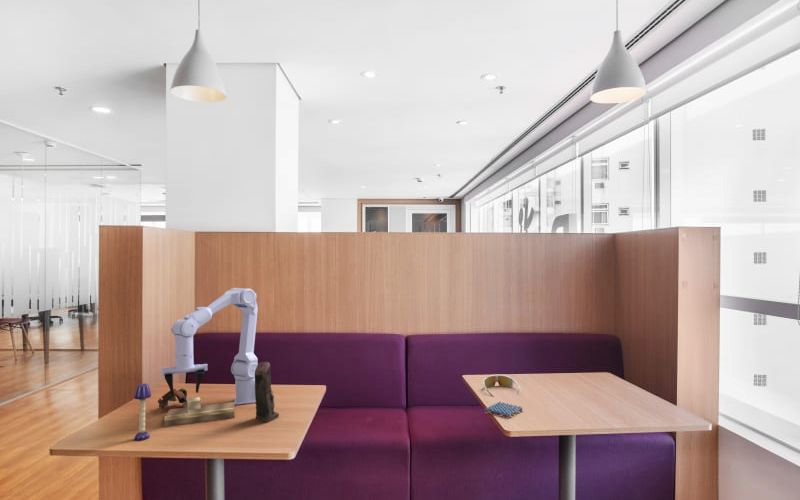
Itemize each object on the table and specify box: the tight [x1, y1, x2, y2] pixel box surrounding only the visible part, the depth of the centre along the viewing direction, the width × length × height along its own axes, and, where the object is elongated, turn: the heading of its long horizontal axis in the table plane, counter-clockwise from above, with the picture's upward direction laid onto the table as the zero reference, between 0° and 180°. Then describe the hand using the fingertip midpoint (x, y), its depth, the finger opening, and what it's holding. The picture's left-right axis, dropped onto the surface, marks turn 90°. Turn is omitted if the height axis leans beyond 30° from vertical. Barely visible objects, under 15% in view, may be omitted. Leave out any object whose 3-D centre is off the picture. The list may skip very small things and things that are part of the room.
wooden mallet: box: [186, 396, 202, 414], centre depth 162 cm, size 4×10×5 cm, turn 28°
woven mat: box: [483, 401, 524, 420], centre depth 162 cm, size 10×11×2 cm
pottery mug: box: [157, 387, 188, 409], centre depth 173 cm, size 12×10×8 cm
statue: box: [255, 361, 280, 423], centre depth 159 cm, size 7×7×20 cm
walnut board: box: [164, 401, 236, 427], centre depth 163 cm, size 22×12×4 cm, turn 110°
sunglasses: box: [482, 374, 521, 398], centre depth 187 cm, size 14×15×5 cm
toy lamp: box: [133, 383, 152, 441], centre depth 144 cm, size 5×5×17 cm
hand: (184, 393), depth 159 cm, fingers open, 7 cm apart
